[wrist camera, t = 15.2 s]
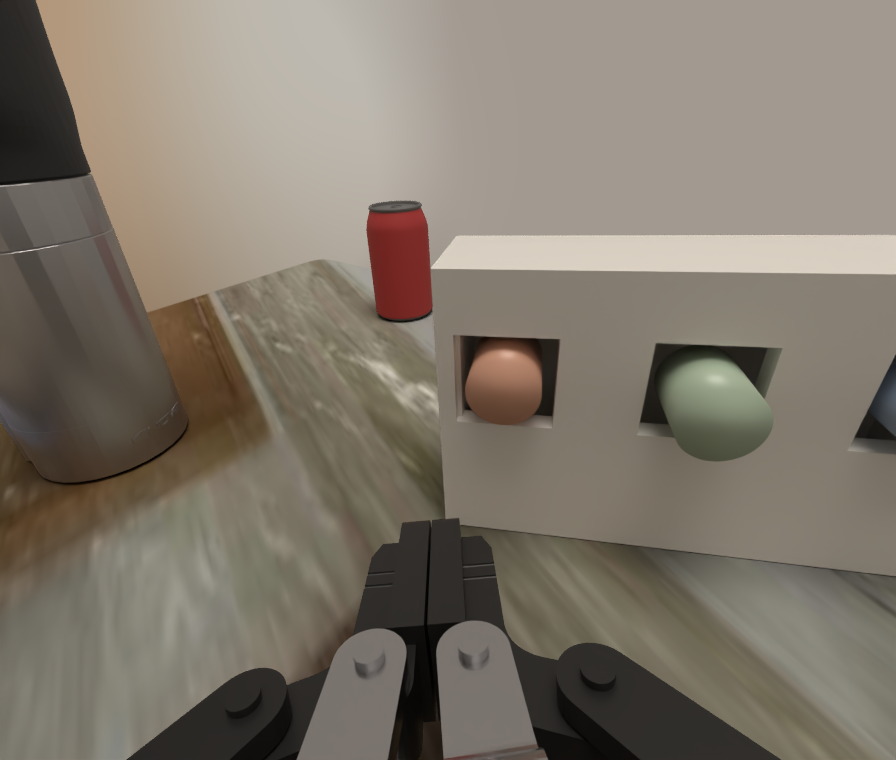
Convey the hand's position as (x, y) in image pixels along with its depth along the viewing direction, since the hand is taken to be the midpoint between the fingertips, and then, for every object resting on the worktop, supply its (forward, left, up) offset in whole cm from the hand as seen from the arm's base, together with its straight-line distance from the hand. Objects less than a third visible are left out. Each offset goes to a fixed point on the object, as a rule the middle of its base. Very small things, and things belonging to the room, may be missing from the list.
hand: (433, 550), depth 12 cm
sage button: (+9, +9, -2) cm, 13 cm away
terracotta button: (+1, +10, -2) cm, 10 cm away
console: (+9, +12, -9) cm, 18 cm away
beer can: (-13, +40, -9) cm, 43 cm away
